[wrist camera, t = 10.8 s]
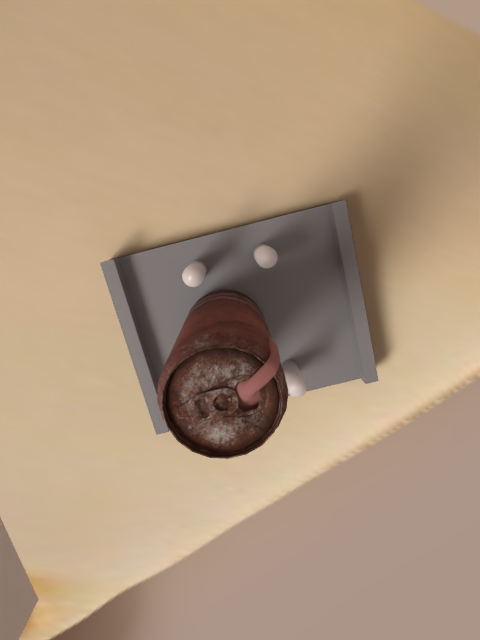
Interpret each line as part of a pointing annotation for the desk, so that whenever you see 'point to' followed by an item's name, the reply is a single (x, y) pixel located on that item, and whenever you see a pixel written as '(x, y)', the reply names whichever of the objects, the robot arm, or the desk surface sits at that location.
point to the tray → (253, 297)
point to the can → (223, 378)
